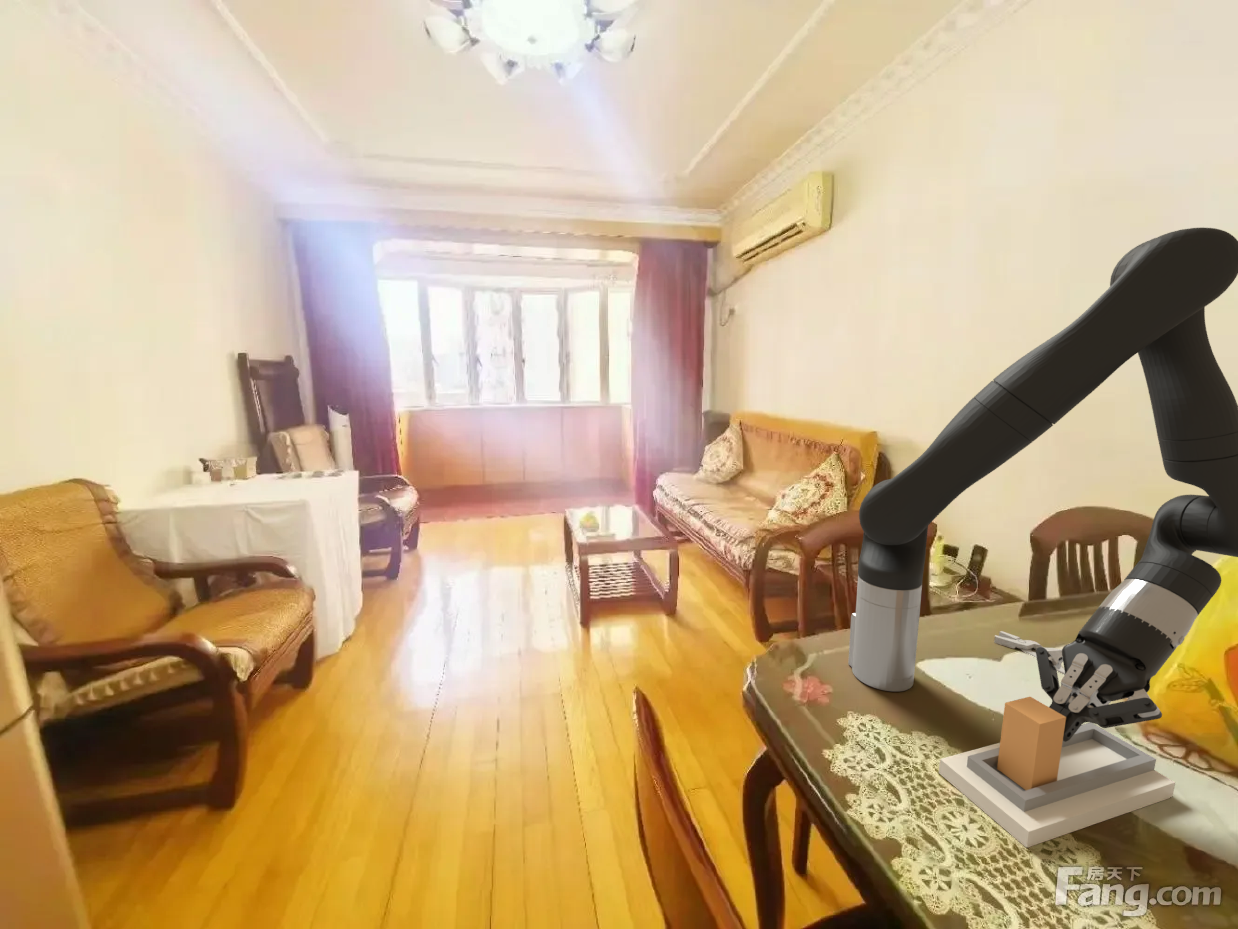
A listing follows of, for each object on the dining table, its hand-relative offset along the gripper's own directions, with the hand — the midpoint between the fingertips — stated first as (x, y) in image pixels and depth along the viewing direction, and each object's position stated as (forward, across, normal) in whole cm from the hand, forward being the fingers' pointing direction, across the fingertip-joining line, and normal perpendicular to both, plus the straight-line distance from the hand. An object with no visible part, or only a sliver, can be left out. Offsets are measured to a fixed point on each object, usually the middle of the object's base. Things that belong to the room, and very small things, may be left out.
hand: (1049, 736), depth 62 cm
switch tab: (+6, 0, +1) cm, 6 cm away
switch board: (+4, 0, +6) cm, 7 cm away
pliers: (-16, -21, +27) cm, 38 cm away
